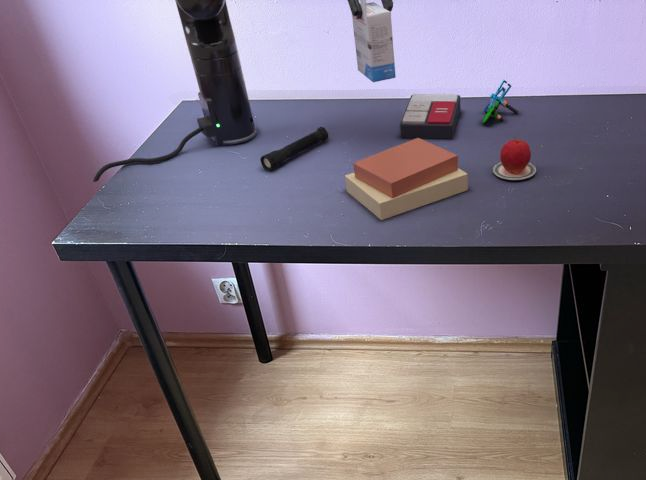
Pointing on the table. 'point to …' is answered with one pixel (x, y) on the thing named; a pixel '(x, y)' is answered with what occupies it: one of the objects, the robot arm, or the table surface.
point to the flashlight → (293, 149)
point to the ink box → (374, 42)
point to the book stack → (405, 178)
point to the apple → (515, 161)
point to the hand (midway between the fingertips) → (374, 13)
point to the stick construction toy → (499, 102)
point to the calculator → (430, 116)
